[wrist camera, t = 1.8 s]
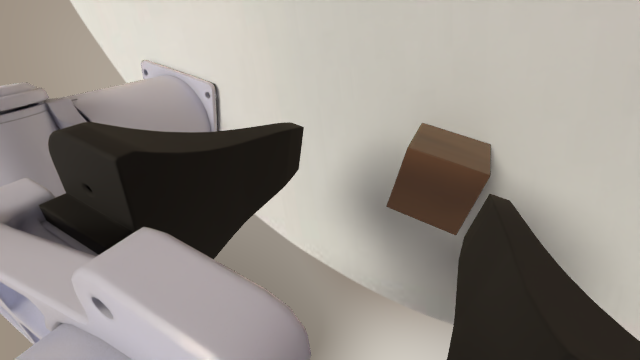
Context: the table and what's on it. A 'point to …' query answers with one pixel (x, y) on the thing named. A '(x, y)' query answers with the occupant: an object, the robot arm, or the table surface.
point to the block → (441, 177)
